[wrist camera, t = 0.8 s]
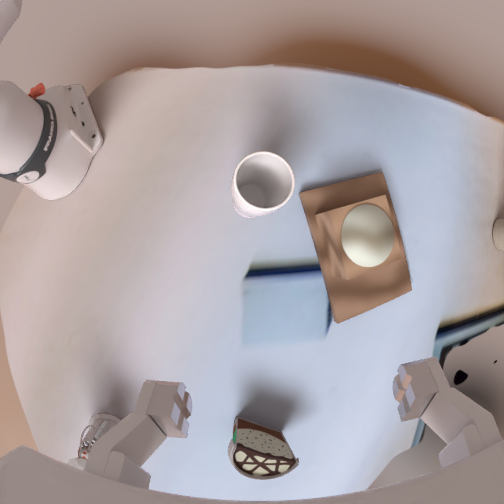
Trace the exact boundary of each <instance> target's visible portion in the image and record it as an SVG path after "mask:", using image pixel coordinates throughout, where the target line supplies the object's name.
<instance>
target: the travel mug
mask: <svg viewBox="0 0 504 504" xmlns="http://www.w3.org/2000/svg"><path fill="white" fill-rule="evenodd" d="M493 239H494V243H495V246H496V248H497V249H498V250H504V218H500V219H497V220H496V221H495V223H494V227H493Z"/></svg>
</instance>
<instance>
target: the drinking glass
mask: <svg viewBox="0 0 504 504" xmlns="http://www.w3.org/2000/svg"><path fill="white" fill-rule="evenodd" d="M294 187H295V178H294V173H293V171H292V169H291V167H290V165H289V164H288V163H287V161H286V160H284V159H283V158H282V157H281V156H279V155H277V154H275V153H272V152H267V151H259V152H254V153H252V154H249V155H248V156H246V157H245V158H243V159H242V160H241V161H240V163H239V164H238V166H237V167H236V170H235V172H234V174H233V178H232V183H231V191H232V197H233V206H234V208H235V210H236V211H237V212H238V213H239V214H240V215H242V216H244V217H247V218H253V217H257V216H262V215H267V214H270V213H272V212H275V211H276V210H278V209H279V208H281V207H282V206H283V205H284V204H285V203H286V202H287V201H288V200H289V199H290V197H291V196H292V194H293V191H294Z"/></svg>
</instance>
